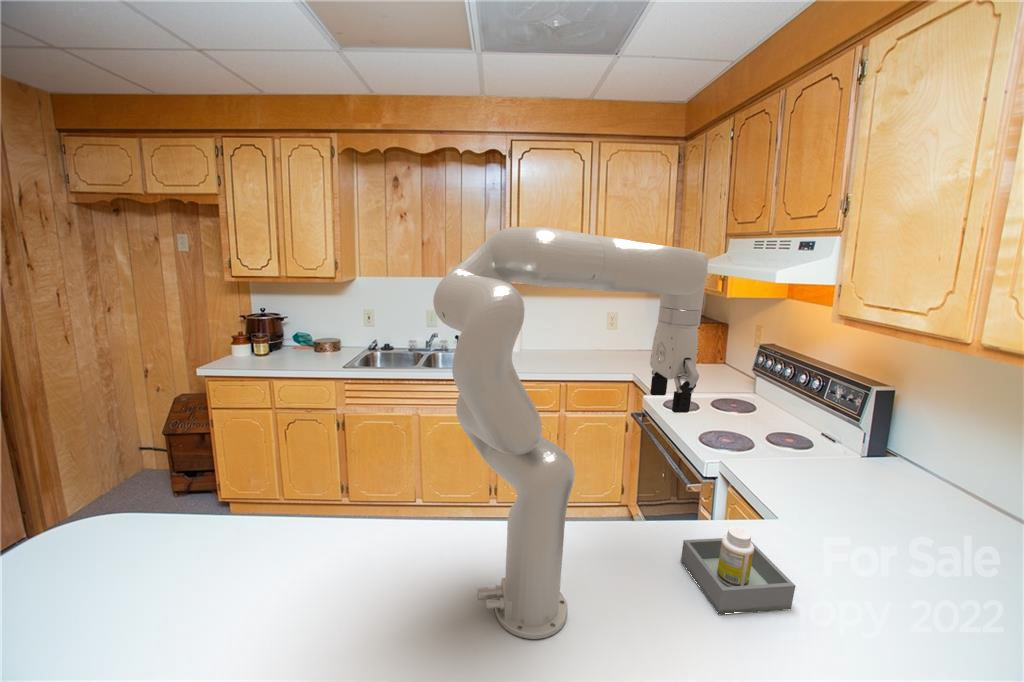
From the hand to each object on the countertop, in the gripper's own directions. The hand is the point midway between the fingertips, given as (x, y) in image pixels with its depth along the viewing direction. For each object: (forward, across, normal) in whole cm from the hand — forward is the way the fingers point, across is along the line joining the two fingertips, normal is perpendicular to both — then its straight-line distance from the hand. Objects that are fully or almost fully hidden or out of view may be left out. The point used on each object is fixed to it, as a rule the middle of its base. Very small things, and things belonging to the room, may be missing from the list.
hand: (668, 403), depth 92 cm
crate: (+33, +10, +12) cm, 37 cm away
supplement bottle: (+32, +10, +12) cm, 36 cm away
